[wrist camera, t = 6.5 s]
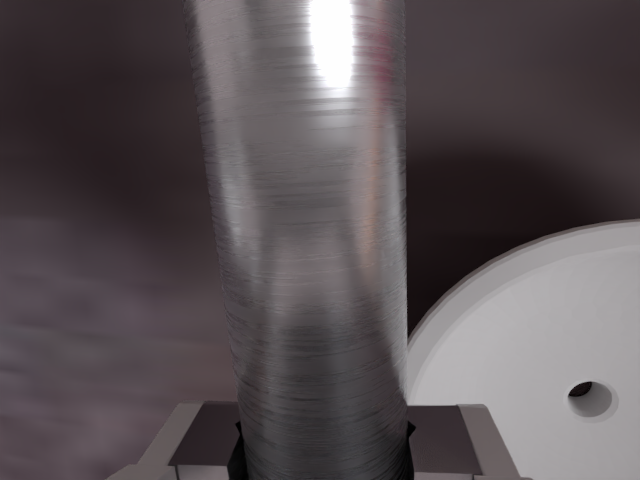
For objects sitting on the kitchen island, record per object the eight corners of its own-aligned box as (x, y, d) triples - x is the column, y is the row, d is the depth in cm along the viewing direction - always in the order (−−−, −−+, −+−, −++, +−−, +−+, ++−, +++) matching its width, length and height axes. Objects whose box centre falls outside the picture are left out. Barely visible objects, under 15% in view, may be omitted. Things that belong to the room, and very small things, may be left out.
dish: (300, 361, 17) (277, 452, 12) (570, 93, 13) (693, 69, 8) (578, 587, 19) (655, 745, 14) (888, 408, 15) (1143, 540, 10)
